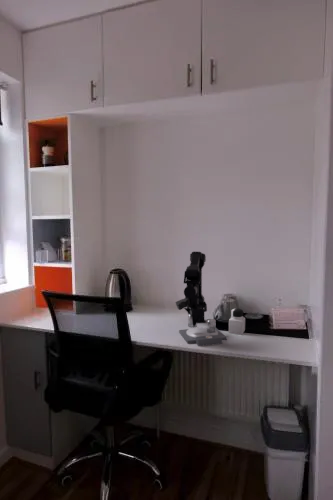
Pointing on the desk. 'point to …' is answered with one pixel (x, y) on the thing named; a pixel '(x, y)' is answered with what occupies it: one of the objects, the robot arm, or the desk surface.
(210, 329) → the cylinder
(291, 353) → the desk surface
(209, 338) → the scale
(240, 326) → the medicine bottle
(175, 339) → the desk surface
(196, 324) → the cylinder
